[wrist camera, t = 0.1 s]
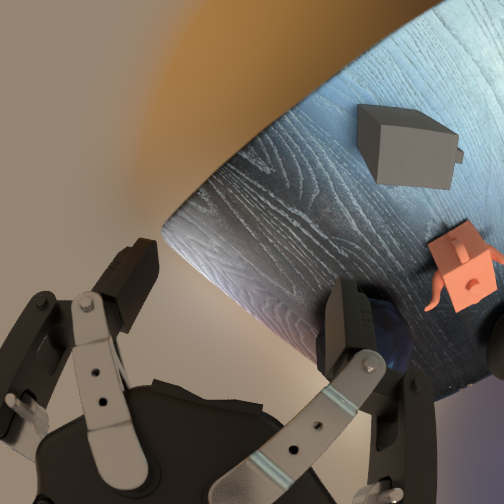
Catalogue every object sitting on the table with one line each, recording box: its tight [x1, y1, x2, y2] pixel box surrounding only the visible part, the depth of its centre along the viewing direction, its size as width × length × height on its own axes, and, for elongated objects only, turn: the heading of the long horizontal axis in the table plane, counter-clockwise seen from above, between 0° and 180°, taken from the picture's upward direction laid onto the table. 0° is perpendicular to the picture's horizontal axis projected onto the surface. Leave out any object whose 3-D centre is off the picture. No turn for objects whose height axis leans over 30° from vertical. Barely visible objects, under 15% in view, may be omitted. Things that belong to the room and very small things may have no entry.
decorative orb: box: [316, 298, 414, 382], centre depth 39 cm, size 14×15×15 cm
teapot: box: [425, 220, 504, 313], centre depth 32 cm, size 12×15×8 cm
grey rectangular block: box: [357, 104, 464, 190], centre depth 23 cm, size 5×9×10 cm, turn 95°
